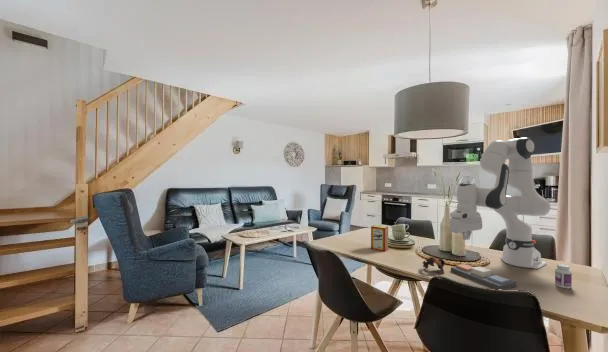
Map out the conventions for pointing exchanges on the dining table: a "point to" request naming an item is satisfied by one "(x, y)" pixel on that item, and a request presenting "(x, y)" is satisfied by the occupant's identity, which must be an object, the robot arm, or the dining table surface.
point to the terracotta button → (465, 267)
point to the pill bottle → (563, 276)
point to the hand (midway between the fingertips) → (466, 239)
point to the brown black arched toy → (431, 262)
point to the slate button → (498, 279)
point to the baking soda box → (379, 238)
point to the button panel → (483, 279)
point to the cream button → (481, 271)
